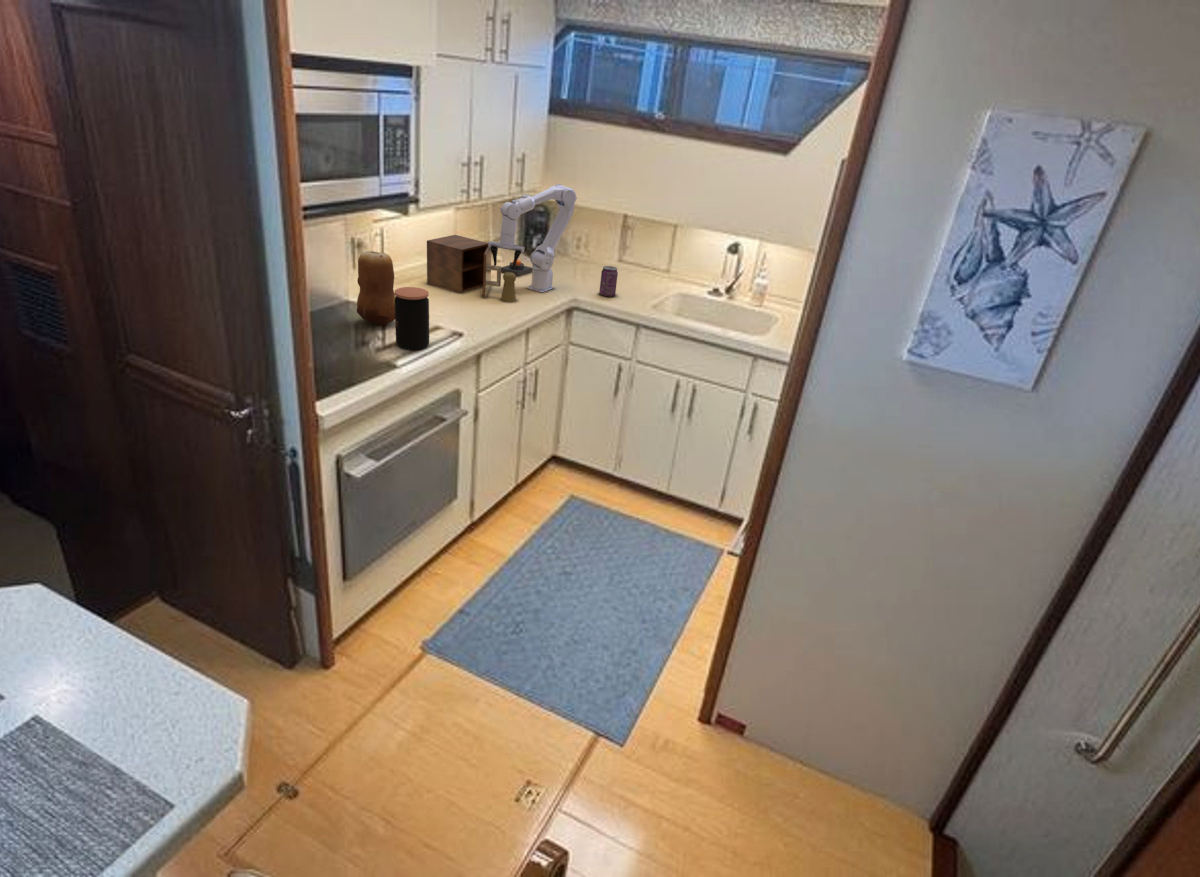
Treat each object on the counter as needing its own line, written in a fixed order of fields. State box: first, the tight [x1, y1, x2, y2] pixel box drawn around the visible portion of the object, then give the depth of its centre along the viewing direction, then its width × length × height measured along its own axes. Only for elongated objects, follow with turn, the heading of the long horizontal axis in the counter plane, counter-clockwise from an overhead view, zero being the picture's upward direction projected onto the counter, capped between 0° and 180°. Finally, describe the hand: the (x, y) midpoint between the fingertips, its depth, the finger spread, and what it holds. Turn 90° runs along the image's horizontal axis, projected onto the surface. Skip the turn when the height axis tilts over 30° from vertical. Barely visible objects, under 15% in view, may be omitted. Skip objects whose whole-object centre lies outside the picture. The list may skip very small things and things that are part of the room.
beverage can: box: [598, 265, 619, 297], centre depth 300 cm, size 7×7×12 cm
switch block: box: [501, 261, 533, 278], centre depth 319 cm, size 12×10×4 cm
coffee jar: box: [394, 286, 430, 351], centre depth 224 cm, size 11×11×18 cm
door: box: [482, 247, 502, 299], centre depth 284 cm, size 7×18×18 cm, turn 1°
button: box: [512, 259, 522, 265], centre depth 317 cm, size 4×4×2 cm
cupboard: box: [426, 234, 489, 294], centre depth 288 cm, size 18×18×18 cm
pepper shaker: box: [500, 272, 517, 303], centre depth 279 cm, size 6×6×11 cm
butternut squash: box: [356, 250, 396, 326], centre depth 236 cm, size 14×13×25 cm
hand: (504, 266), depth 286 cm, fingers open, 7 cm apart
